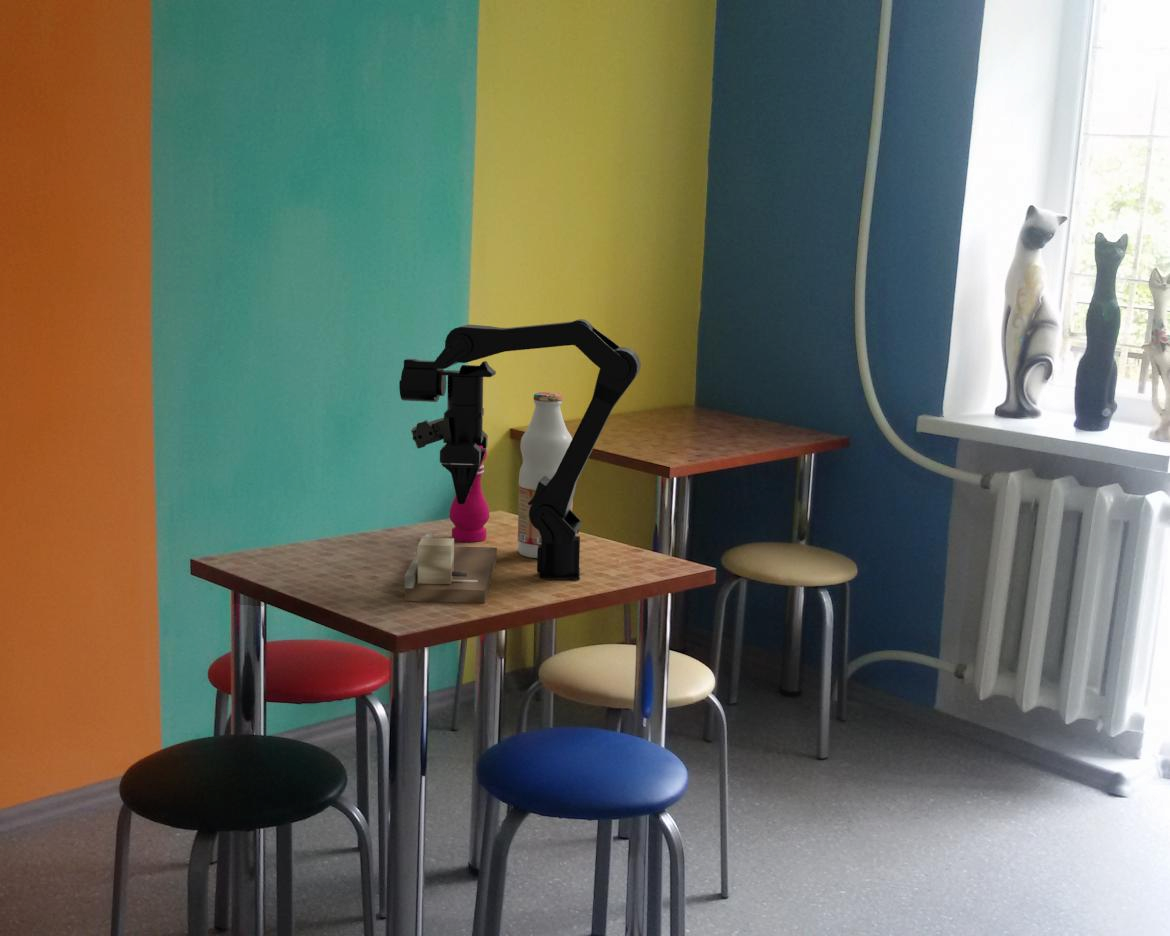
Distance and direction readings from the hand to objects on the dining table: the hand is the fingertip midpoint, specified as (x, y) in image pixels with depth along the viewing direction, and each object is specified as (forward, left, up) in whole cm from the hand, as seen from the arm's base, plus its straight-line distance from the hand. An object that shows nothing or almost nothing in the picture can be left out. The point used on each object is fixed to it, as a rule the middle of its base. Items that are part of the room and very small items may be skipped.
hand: (463, 498), depth 226 cm
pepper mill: (+1, -23, -12) cm, 26 cm away
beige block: (+2, +15, -10) cm, 18 cm away
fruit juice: (-13, -13, -12) cm, 22 cm away
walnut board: (+1, +6, -12) cm, 13 cm away
